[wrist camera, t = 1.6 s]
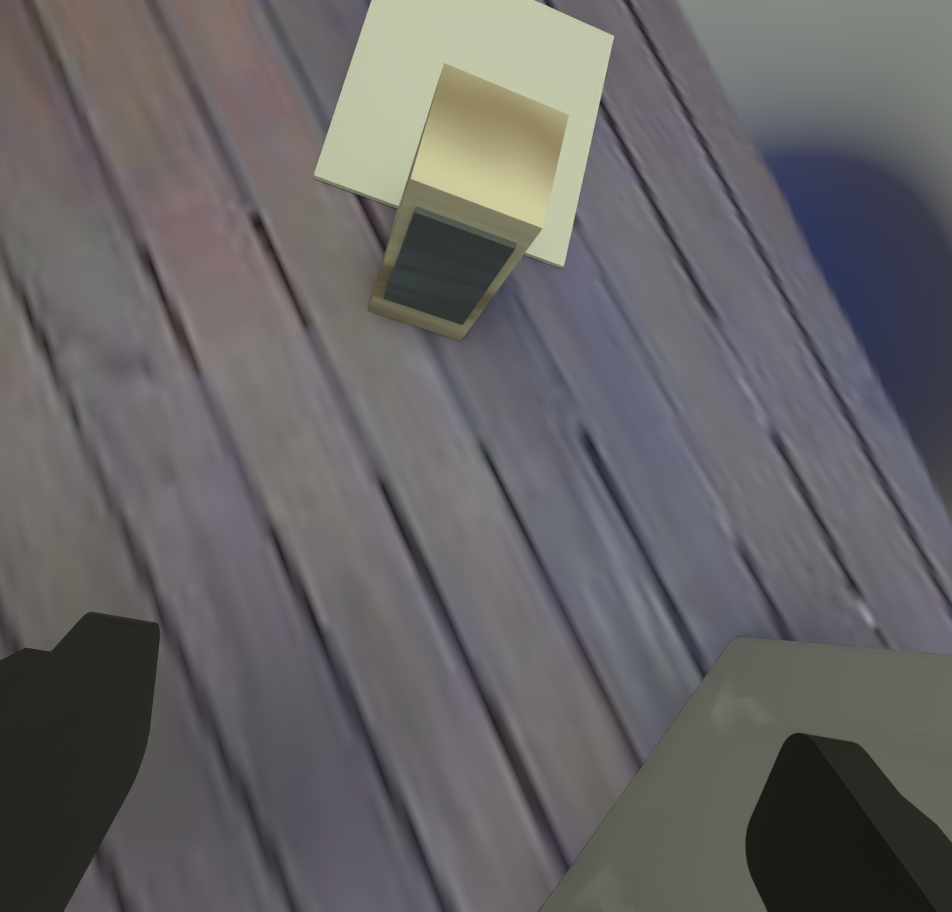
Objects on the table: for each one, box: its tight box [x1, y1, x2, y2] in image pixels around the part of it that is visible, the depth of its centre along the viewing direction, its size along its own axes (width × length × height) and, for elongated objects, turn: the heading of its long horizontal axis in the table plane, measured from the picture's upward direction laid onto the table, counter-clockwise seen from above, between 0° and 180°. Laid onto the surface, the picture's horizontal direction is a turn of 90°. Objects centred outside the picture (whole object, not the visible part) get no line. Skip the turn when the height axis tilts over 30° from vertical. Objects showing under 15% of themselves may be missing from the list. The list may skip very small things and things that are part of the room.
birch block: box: [368, 63, 569, 341], centre depth 31 cm, size 5×5×12 cm
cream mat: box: [314, 0, 614, 269], centre depth 40 cm, size 16×14×1 cm
